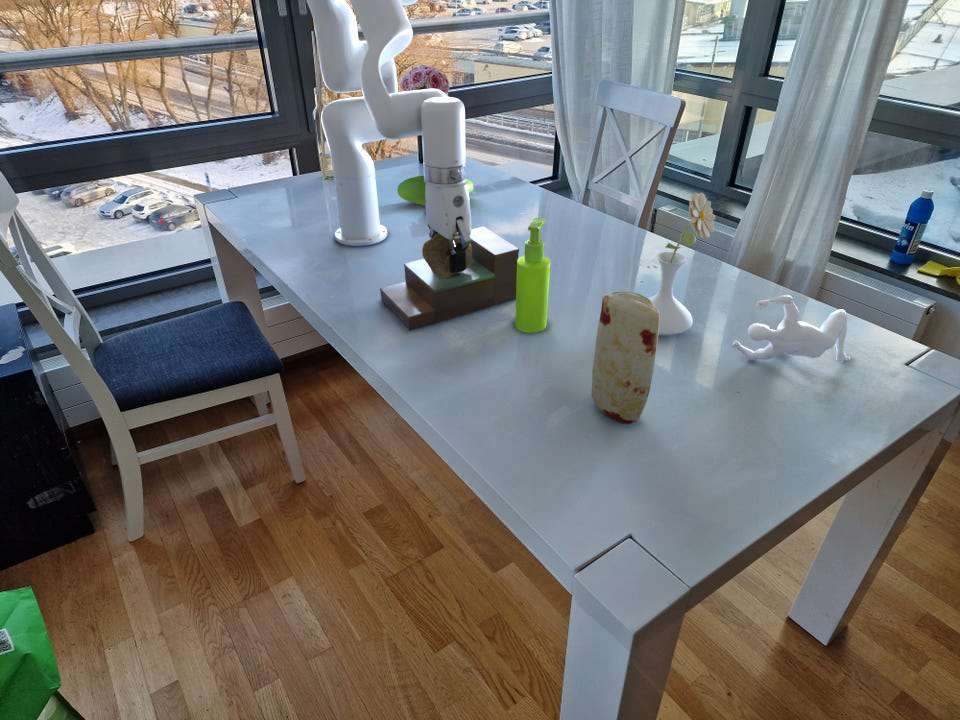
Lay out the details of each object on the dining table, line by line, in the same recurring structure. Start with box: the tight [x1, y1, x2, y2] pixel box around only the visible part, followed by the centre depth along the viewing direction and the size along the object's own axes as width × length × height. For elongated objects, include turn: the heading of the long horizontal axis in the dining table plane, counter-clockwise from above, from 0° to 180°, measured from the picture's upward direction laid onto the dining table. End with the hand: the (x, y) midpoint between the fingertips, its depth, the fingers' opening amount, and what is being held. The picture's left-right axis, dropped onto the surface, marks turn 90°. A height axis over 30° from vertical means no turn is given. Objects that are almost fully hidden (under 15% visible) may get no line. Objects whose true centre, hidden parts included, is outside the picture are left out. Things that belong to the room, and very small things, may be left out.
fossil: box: [421, 232, 472, 278], centre depth 122 cm, size 9×4×10 cm
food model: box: [590, 291, 660, 425], centre depth 91 cm, size 10×7×20 cm
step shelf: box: [379, 225, 520, 331], centre depth 124 cm, size 13×24×11 cm, turn 121°
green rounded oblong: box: [396, 175, 474, 206], centre depth 173 cm, size 8×12×20 cm
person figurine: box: [731, 295, 852, 362], centre depth 106 cm, size 13×13×18 cm
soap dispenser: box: [514, 217, 551, 334], centre depth 114 cm, size 6×7×20 cm
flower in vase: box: [647, 192, 716, 336], centre depth 112 cm, size 13×11×25 cm
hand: (448, 263), depth 122 cm, fingers open, 6 cm apart
